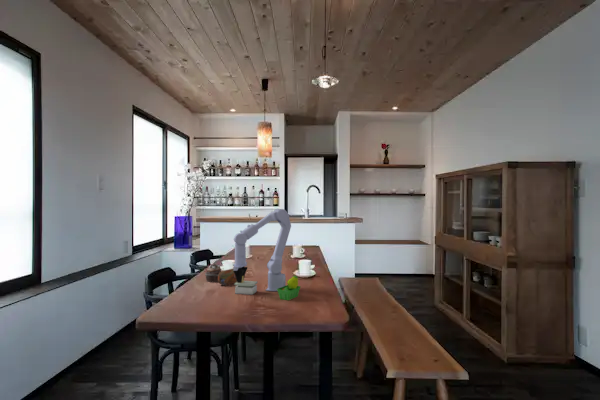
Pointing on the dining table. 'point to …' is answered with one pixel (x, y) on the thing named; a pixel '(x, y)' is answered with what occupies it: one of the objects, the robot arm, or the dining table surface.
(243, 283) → the lid
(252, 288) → the tub
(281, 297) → the fruit basket
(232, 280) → the tin
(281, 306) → the dining table surface
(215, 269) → the cupcake
